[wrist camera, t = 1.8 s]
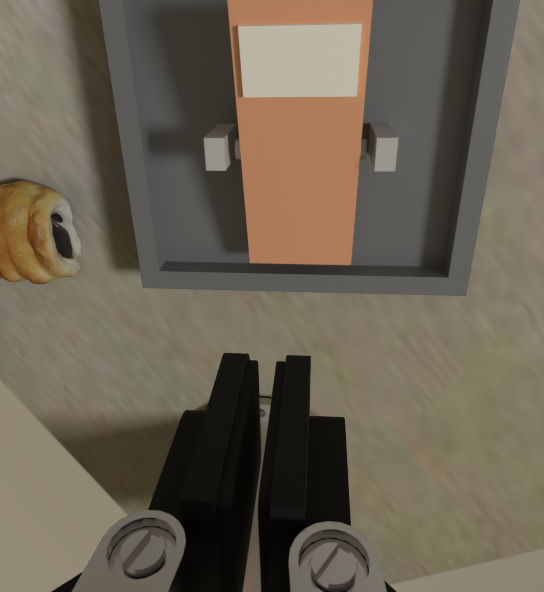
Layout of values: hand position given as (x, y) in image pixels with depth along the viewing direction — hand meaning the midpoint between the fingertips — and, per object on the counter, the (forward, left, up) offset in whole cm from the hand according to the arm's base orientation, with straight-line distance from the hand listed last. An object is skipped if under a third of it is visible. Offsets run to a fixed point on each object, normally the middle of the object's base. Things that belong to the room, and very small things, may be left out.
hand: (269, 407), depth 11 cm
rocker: (+2, 0, -18) cm, 18 cm away
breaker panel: (+2, 0, -22) cm, 22 cm away
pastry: (-5, +19, -23) cm, 30 cm away
